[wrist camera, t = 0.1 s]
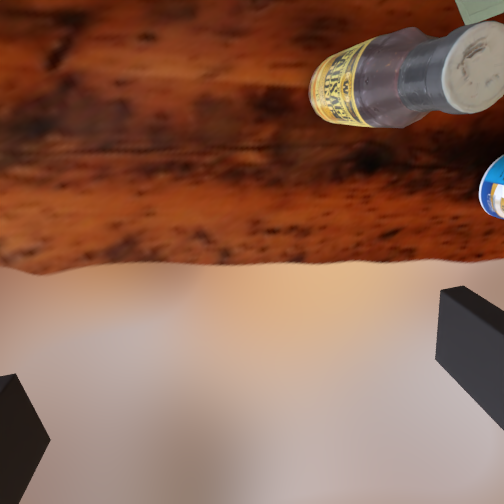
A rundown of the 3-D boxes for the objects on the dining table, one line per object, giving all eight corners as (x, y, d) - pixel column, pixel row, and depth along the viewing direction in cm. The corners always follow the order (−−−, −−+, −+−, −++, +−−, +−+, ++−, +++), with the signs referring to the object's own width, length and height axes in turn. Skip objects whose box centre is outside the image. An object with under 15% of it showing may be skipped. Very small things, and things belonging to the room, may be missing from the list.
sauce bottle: (304, 59, 33) (428, -25, 14) (365, 54, 33) (560, -33, 15) (306, 129, 35) (413, 135, 17) (362, 124, 36) (527, 124, 17)
